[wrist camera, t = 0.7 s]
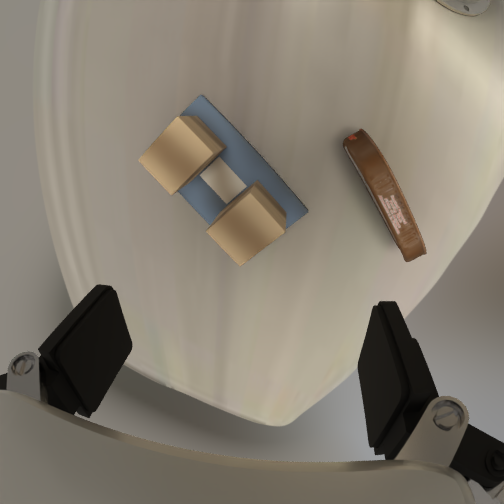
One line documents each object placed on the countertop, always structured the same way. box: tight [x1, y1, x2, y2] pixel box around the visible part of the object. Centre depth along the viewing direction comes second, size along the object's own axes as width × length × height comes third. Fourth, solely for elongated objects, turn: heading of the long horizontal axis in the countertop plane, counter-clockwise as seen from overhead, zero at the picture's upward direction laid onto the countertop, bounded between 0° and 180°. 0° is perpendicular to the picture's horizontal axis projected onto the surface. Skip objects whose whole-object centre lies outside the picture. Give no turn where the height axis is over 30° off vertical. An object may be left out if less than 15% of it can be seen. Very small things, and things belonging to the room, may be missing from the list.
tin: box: [343, 129, 426, 262], centre depth 28 cm, size 15×3×8 cm, turn 35°
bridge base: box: [139, 95, 308, 266], centre depth 31 cm, size 10×18×7 cm, turn 42°
